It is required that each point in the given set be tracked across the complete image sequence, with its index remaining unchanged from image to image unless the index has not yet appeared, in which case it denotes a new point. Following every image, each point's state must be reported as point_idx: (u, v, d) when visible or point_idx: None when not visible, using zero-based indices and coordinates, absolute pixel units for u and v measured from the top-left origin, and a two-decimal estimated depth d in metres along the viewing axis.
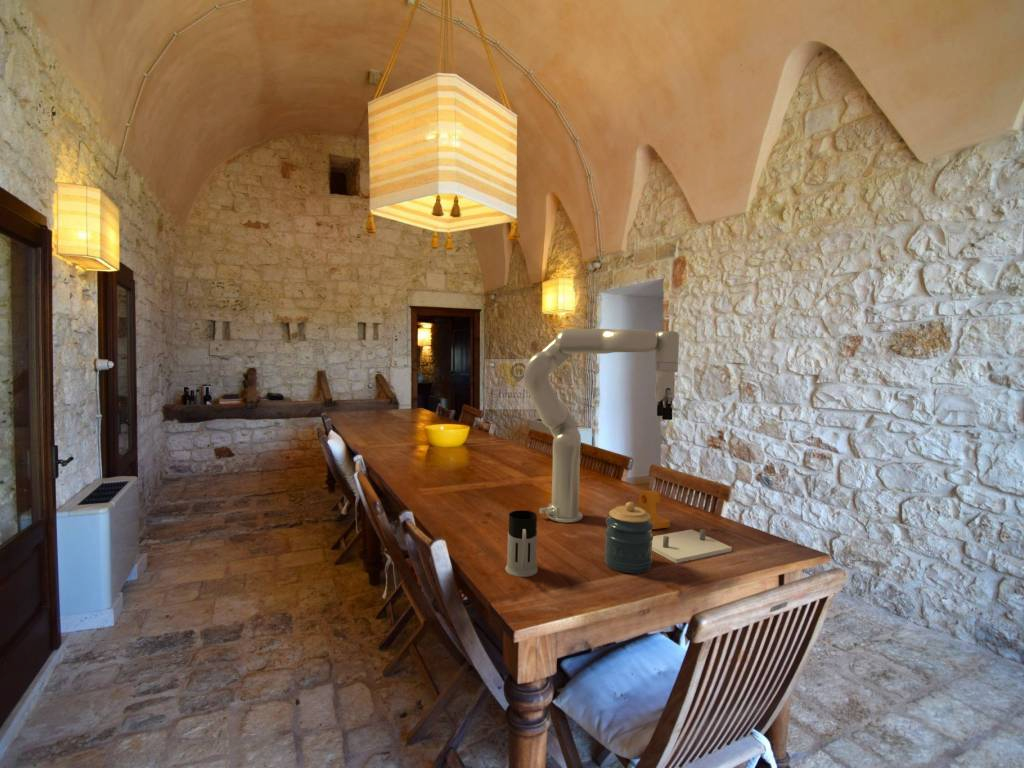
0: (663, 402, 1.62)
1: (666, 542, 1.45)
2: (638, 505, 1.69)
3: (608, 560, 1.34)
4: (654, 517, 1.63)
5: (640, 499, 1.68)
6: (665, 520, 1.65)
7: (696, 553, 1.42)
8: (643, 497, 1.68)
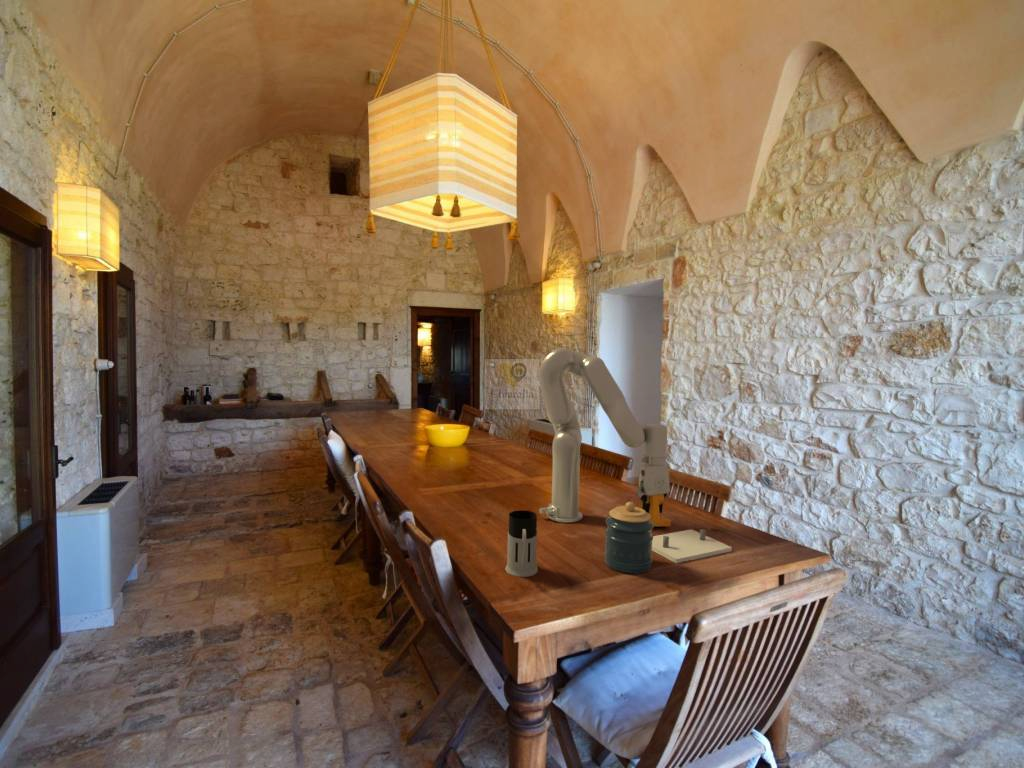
0: None
1: (666, 542, 1.45)
2: (640, 502, 1.70)
3: (608, 560, 1.34)
4: (656, 514, 1.63)
5: None
6: (666, 519, 1.66)
7: (696, 553, 1.42)
8: None
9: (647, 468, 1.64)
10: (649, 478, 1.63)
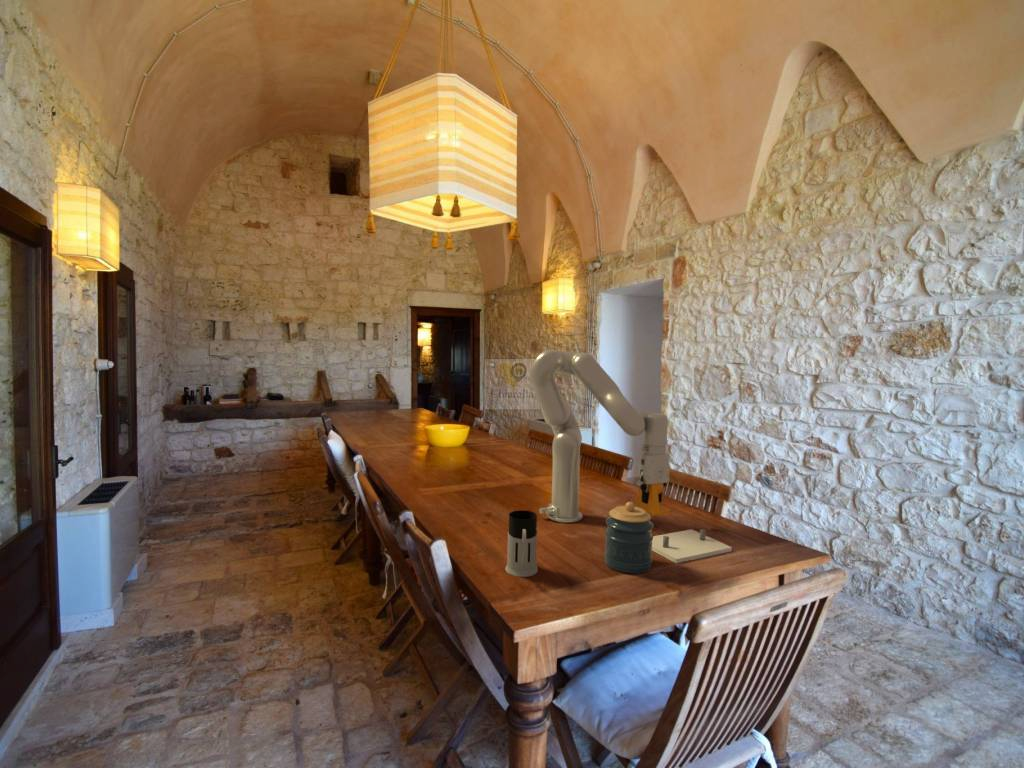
0: None
1: (666, 542, 1.45)
2: (640, 491, 1.70)
3: (608, 560, 1.34)
4: (655, 503, 1.63)
5: None
6: (665, 508, 1.66)
7: (696, 553, 1.42)
8: None
9: (647, 457, 1.63)
10: (648, 467, 1.63)
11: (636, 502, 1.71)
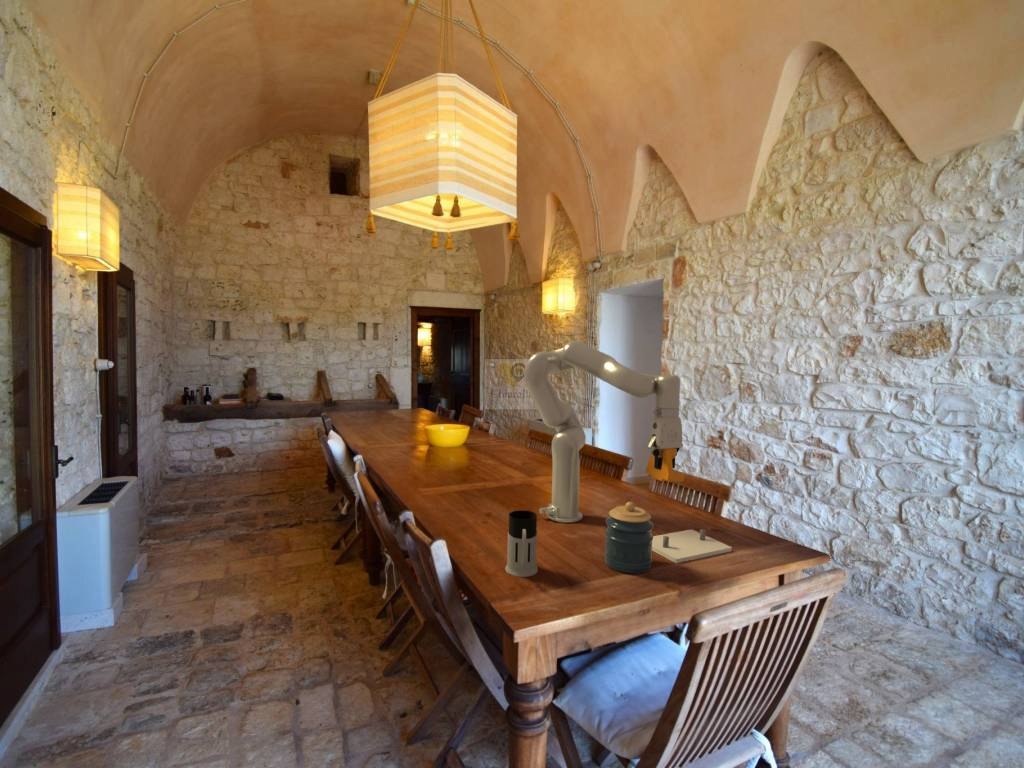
0: None
1: (666, 542, 1.45)
2: (652, 458, 1.62)
3: (608, 560, 1.34)
4: (669, 468, 1.56)
5: None
6: (680, 474, 1.59)
7: (696, 553, 1.42)
8: (658, 449, 1.61)
9: (659, 420, 1.56)
10: (661, 430, 1.56)
11: (648, 469, 1.63)
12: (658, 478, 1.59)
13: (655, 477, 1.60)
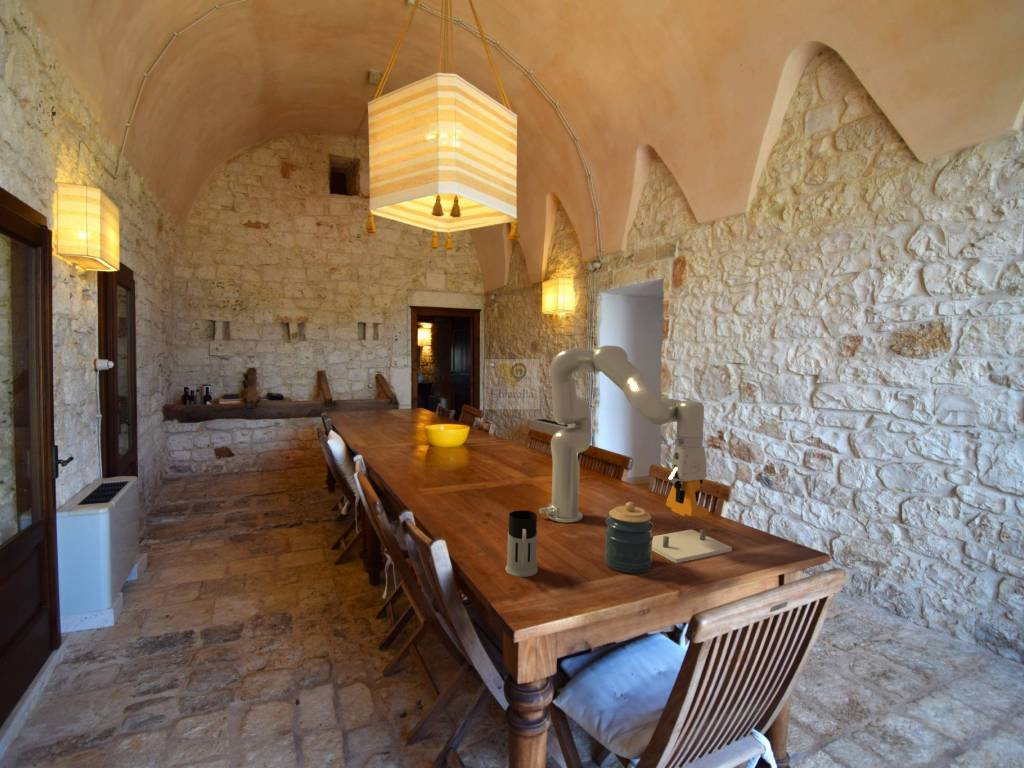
0: None
1: (666, 542, 1.45)
2: (673, 490, 1.50)
3: (608, 560, 1.34)
4: (693, 503, 1.43)
5: None
6: (703, 508, 1.46)
7: (696, 553, 1.42)
8: (680, 481, 1.49)
9: (682, 450, 1.44)
10: (684, 461, 1.44)
11: (669, 502, 1.51)
12: (680, 513, 1.46)
13: (677, 511, 1.48)
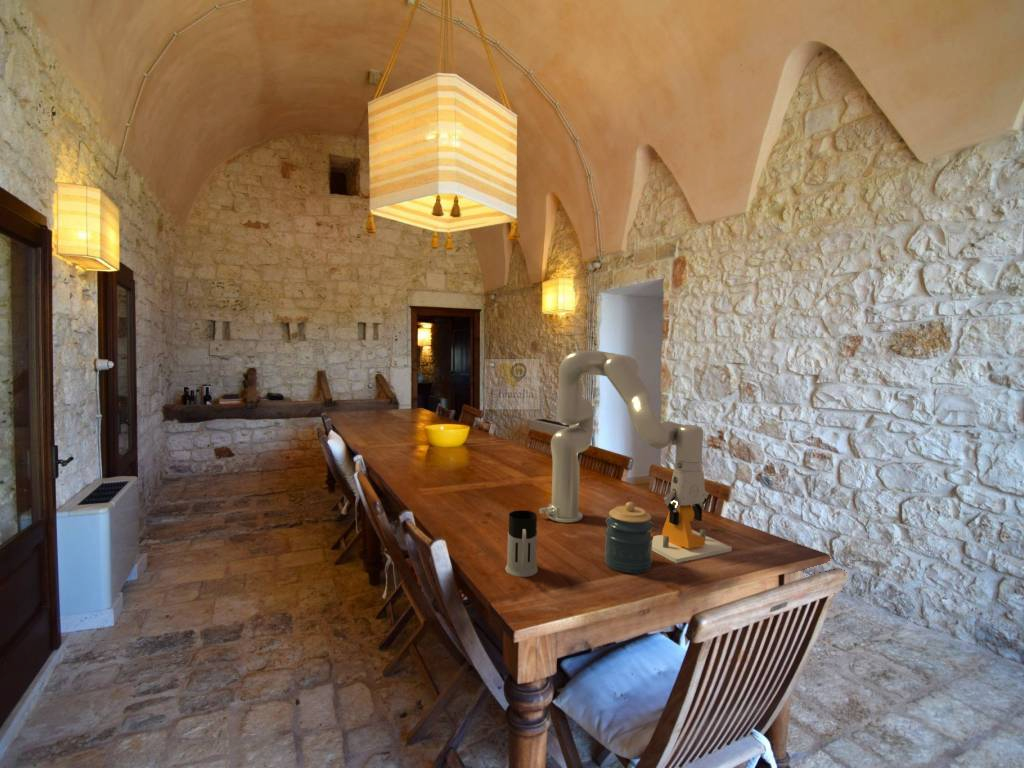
0: (701, 502, 1.50)
1: (666, 542, 1.45)
2: (668, 521, 1.50)
3: (608, 560, 1.34)
4: (689, 535, 1.44)
5: None
6: (699, 537, 1.47)
7: (696, 553, 1.42)
8: None
9: (680, 475, 1.45)
10: (682, 486, 1.44)
11: (665, 533, 1.52)
12: (677, 544, 1.47)
13: (673, 542, 1.48)
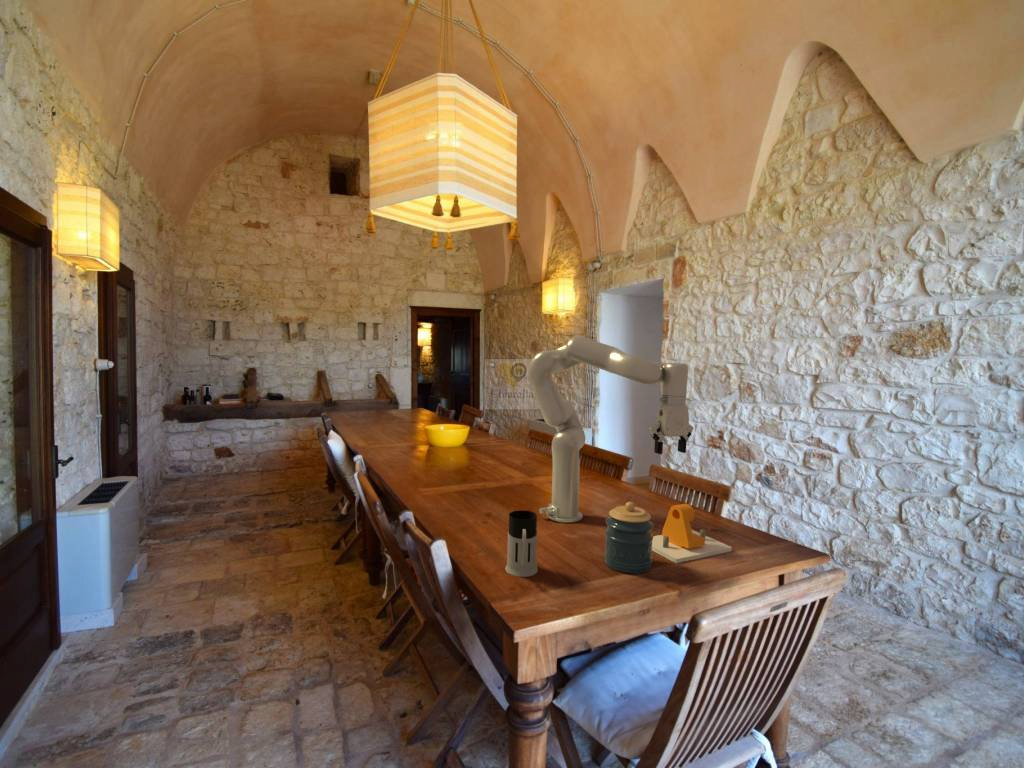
0: (686, 435, 1.61)
1: (666, 542, 1.45)
2: (668, 521, 1.50)
3: (608, 560, 1.34)
4: (689, 535, 1.44)
5: (671, 514, 1.49)
6: (699, 537, 1.47)
7: (696, 553, 1.42)
8: (674, 512, 1.49)
9: (666, 407, 1.56)
10: (667, 417, 1.56)
11: (665, 533, 1.52)
12: (677, 544, 1.47)
13: (673, 542, 1.48)
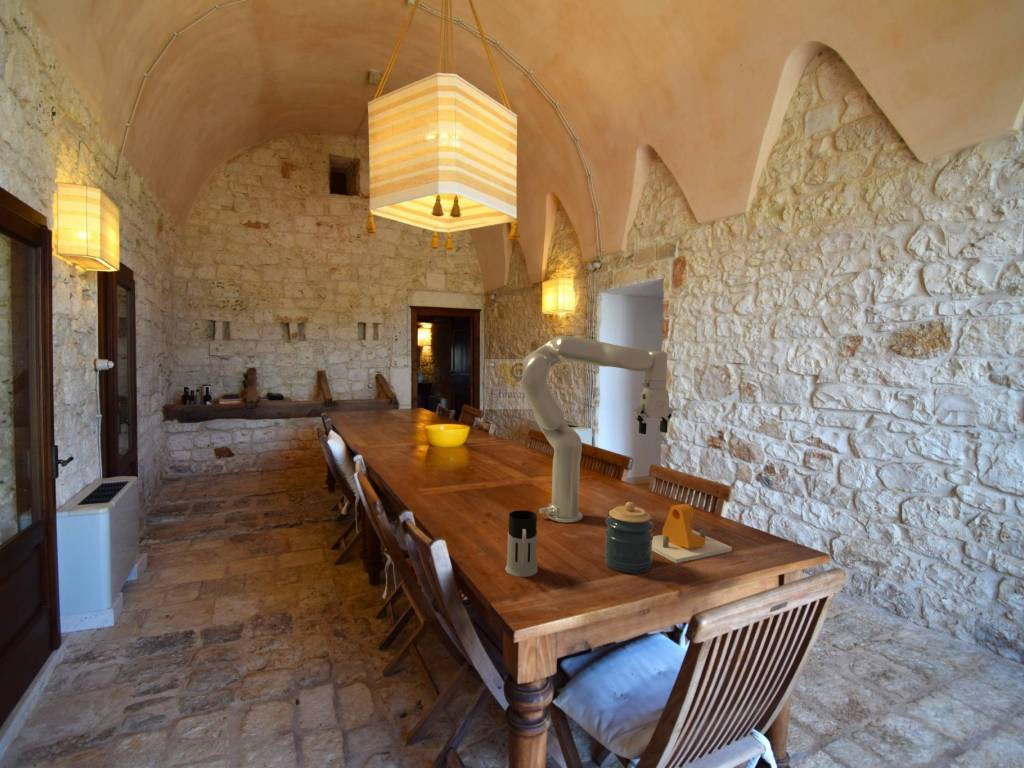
0: (666, 417, 1.77)
1: (666, 542, 1.45)
2: (668, 521, 1.50)
3: (608, 560, 1.34)
4: (689, 535, 1.44)
5: (671, 514, 1.49)
6: (699, 537, 1.47)
7: (696, 553, 1.42)
8: (674, 512, 1.49)
9: (648, 391, 1.72)
10: (649, 400, 1.71)
11: (665, 533, 1.52)
12: (677, 544, 1.47)
13: (673, 542, 1.48)
